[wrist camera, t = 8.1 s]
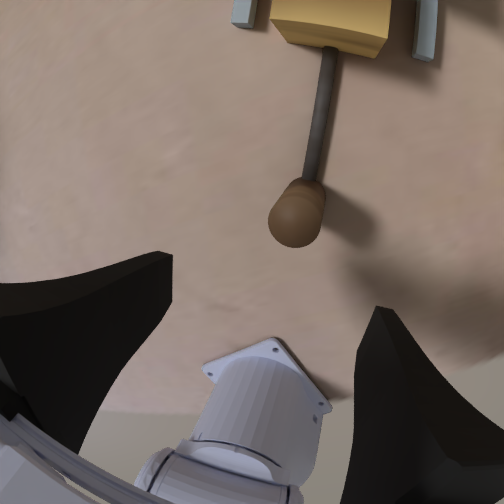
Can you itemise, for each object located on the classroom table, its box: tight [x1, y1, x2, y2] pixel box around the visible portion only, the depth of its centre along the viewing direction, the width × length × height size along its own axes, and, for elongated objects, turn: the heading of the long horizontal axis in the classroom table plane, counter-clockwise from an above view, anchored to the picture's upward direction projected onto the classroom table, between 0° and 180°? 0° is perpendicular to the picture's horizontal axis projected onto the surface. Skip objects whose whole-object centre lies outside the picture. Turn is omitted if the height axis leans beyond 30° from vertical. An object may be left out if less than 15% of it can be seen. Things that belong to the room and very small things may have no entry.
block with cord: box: [268, 0, 391, 248], centre depth 14 cm, size 15×5×5 cm, turn 172°
